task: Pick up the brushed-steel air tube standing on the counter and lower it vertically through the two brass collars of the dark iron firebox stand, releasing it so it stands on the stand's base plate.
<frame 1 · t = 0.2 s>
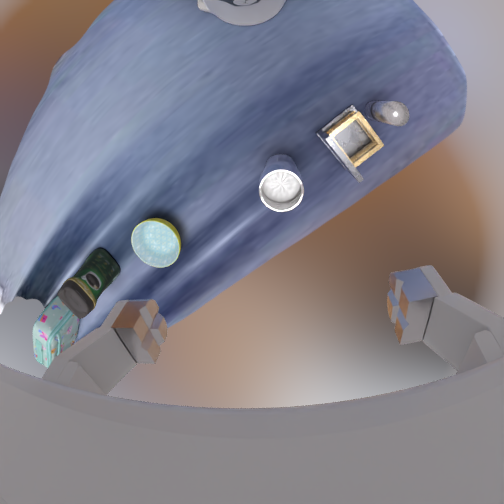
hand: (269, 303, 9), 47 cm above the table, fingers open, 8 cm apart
lunch box: (70, 315, 83), on the table
bowl: (164, 232, 63), on the table
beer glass: (280, 168, 53), on the table
coffee jar: (106, 262, 69), on the table
air tube: (374, 110, 45), on the table
firebox stand: (348, 136, 48), on the table
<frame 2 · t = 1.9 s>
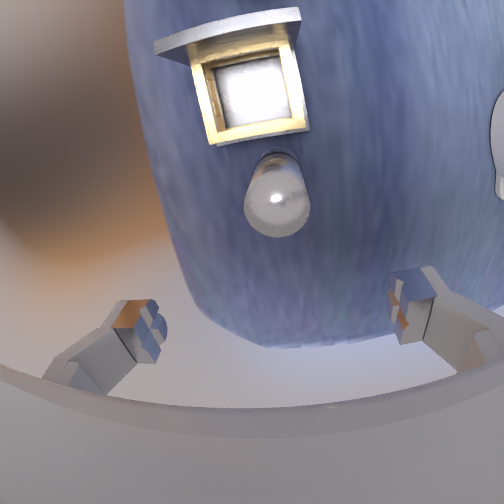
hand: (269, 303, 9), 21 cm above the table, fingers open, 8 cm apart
air tube: (278, 165, 27), on the table
firebox stand: (253, 92, 24), on the table
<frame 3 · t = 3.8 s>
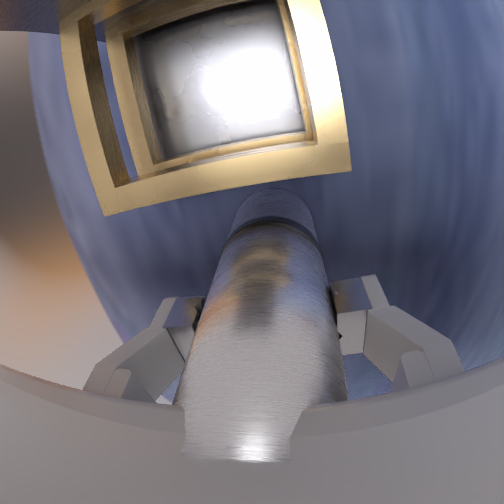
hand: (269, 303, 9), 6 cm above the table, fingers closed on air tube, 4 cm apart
air tube: (273, 225, 14), on the table, touching gripper
firebox stand: (223, 78, 11), on the table
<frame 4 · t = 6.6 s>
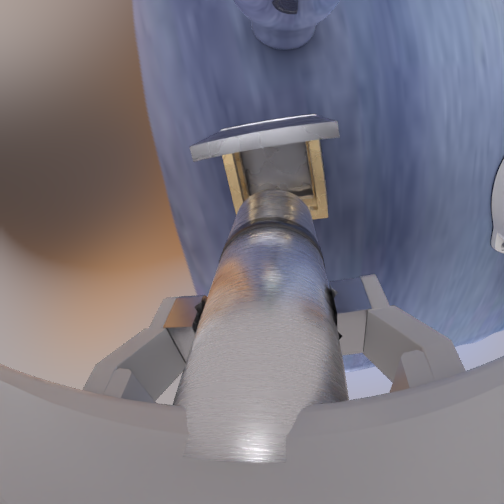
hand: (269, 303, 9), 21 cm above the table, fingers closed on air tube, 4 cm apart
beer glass: (283, 23, 20), on the table
air tube: (274, 226, 14), point 15 cm above the table, touching gripper
firebox stand: (276, 164, 27), on the table
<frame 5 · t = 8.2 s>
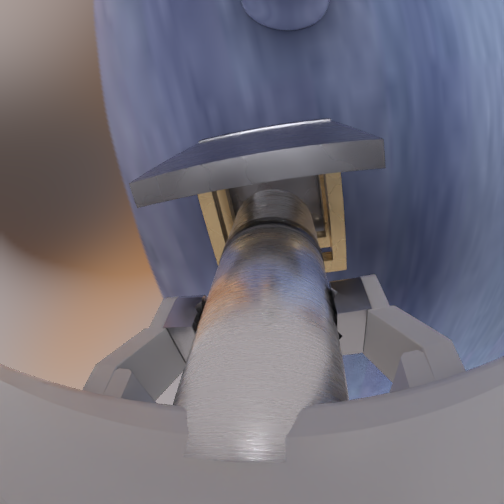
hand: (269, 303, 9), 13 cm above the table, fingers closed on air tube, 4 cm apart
air tube: (274, 226, 14), point 7 cm above the table, touching gripper
firebox stand: (275, 187, 20), on the table
when the fingers open (9 cm above the table, at t = 9.4 s): air tube drops 1 cm, resting on firebox stand.
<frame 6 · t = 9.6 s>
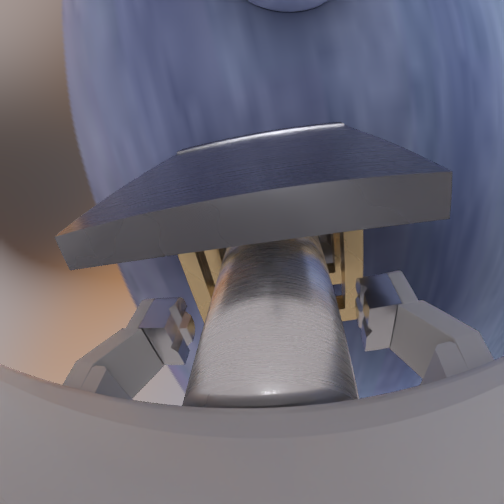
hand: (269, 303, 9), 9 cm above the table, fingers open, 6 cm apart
air tube: (273, 215, 16), point 1 cm above the table, touching firebox stand
firebox stand: (273, 208, 17), on the table
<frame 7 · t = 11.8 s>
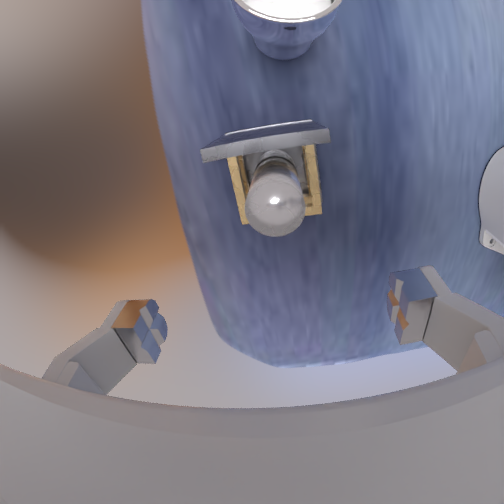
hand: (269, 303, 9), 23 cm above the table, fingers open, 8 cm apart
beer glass: (282, 35, 22), on the table
air tube: (275, 168, 29), point 1 cm above the table, touching firebox stand
firebox stand: (275, 165, 29), on the table
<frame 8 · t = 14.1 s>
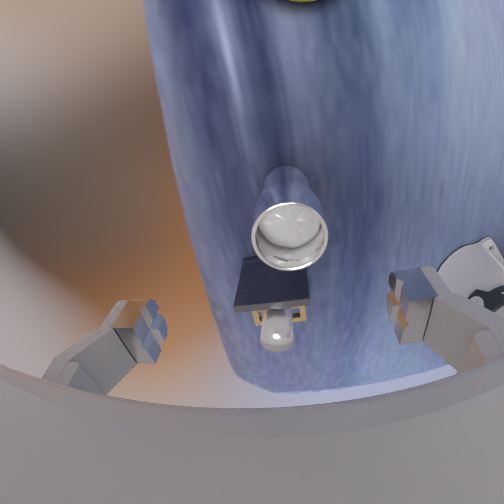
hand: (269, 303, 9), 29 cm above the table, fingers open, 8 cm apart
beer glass: (286, 186, 37), on the table
air tube: (278, 283, 43), point 1 cm above the table, touching firebox stand
firebox stand: (277, 279, 44), on the table
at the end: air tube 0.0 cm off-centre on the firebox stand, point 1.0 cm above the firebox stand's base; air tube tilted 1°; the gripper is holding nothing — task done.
